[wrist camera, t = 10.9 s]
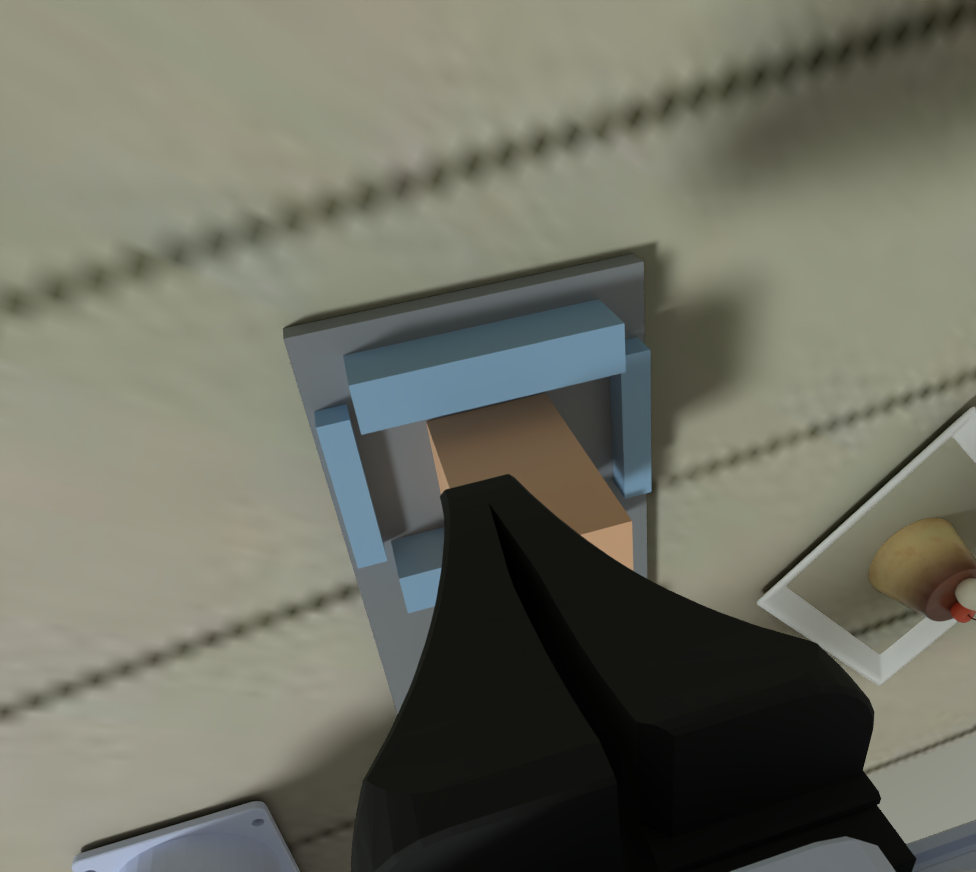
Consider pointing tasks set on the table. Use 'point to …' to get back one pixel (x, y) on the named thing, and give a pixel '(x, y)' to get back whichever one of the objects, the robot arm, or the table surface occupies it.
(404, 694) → the grey fixture plate
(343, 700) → the table surface
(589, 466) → the tan cardboard block
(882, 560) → the dessert
